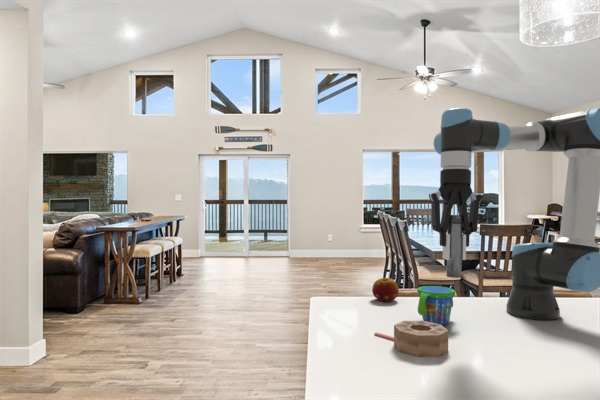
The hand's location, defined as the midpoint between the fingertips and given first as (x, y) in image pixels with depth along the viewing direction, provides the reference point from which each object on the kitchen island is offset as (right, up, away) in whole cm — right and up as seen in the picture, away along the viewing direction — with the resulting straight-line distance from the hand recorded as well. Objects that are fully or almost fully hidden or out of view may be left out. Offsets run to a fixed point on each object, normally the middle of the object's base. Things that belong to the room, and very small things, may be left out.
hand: (454, 258), depth 107 cm
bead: (-10, -22, -4) cm, 24 cm away
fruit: (-8, -22, +46) cm, 52 cm away
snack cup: (+1, -22, +17) cm, 28 cm away
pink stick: (-15, -22, +2) cm, 26 cm away
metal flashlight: (0, -5, 0) cm, 5 cm away
